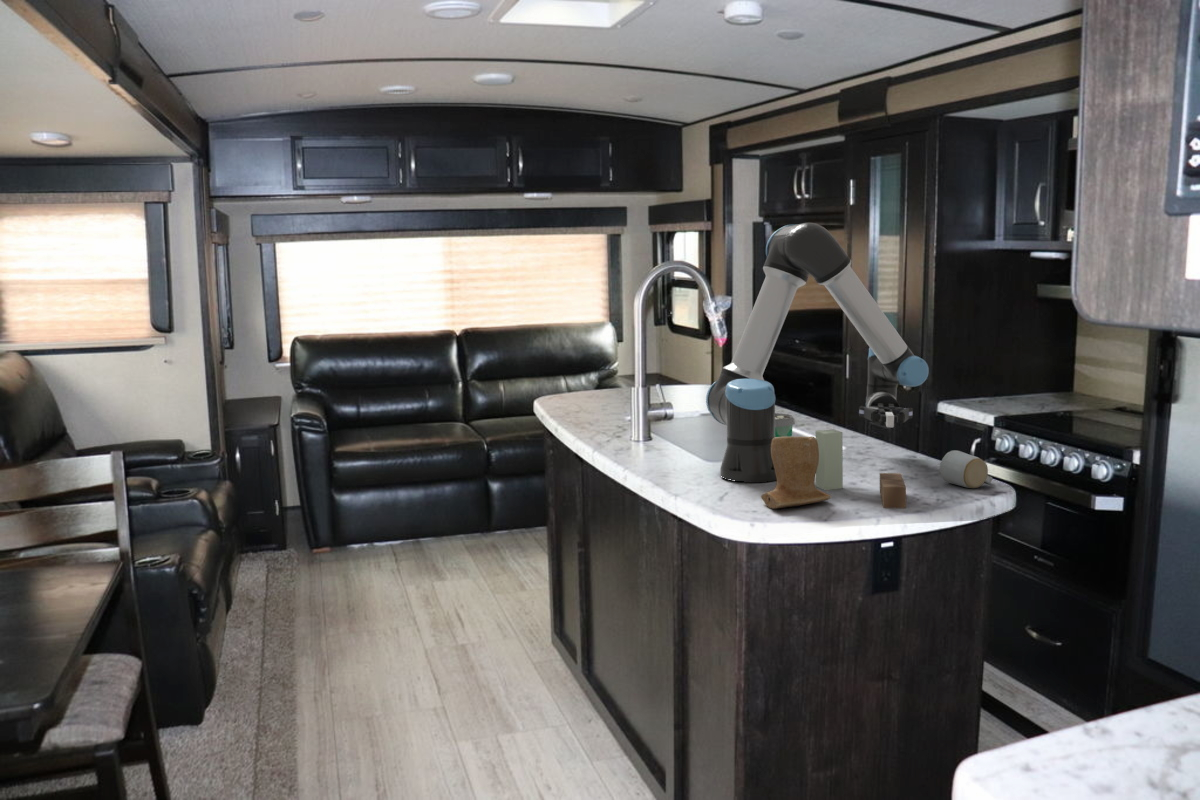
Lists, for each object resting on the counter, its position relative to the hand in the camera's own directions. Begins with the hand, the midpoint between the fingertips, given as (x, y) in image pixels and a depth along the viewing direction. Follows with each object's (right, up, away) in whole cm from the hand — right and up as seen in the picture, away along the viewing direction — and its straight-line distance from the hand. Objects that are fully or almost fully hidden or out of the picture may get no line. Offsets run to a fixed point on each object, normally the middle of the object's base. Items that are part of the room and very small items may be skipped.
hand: (890, 421), depth 225 cm
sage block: (-14, -15, 0) cm, 21 cm away
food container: (-16, -10, +45) cm, 48 cm away
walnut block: (-2, -13, -8) cm, 16 cm away
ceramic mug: (+17, -15, -3) cm, 22 cm away
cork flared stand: (-25, -18, -14) cm, 34 cm away
